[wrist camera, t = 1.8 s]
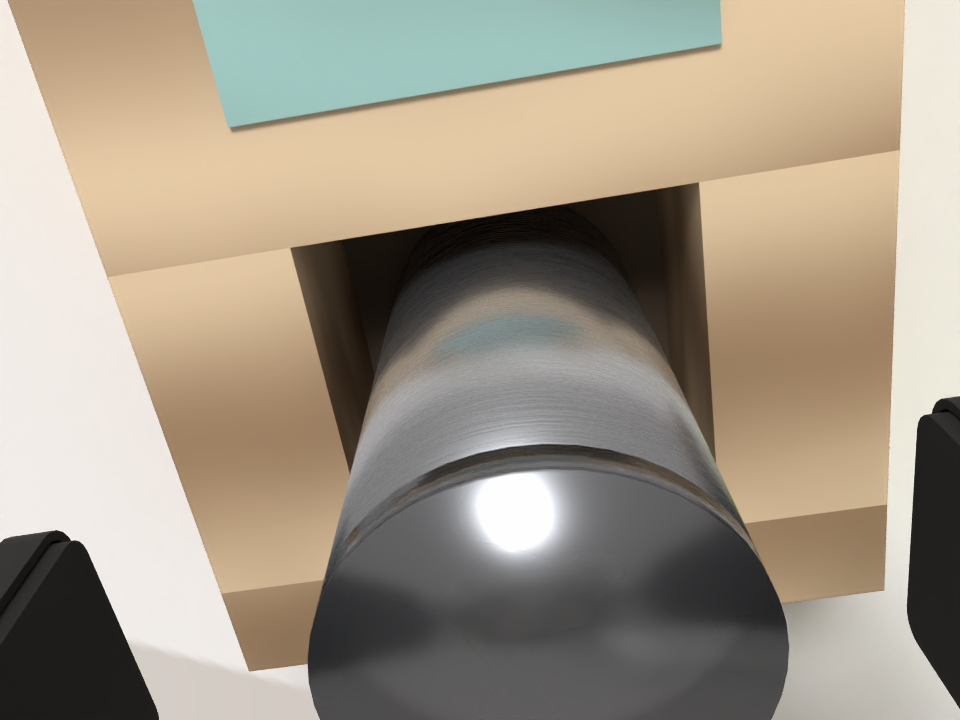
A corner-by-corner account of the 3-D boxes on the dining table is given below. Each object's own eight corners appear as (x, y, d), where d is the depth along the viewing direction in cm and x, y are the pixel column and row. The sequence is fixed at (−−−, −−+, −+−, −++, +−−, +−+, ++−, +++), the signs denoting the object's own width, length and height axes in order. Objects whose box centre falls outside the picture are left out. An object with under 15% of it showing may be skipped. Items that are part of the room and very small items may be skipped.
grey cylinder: (639, 397, 19) (792, 813, 10) (419, 429, 19) (365, 861, 10) (618, 176, 17) (784, 436, 8) (373, 216, 17) (251, 511, 8)
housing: (809, 473, 20) (886, 593, 16) (290, 545, 20) (247, 675, 17) (800, -610, 12) (940, -860, 9) (-13, -433, 13) (-210, -588, 9)
